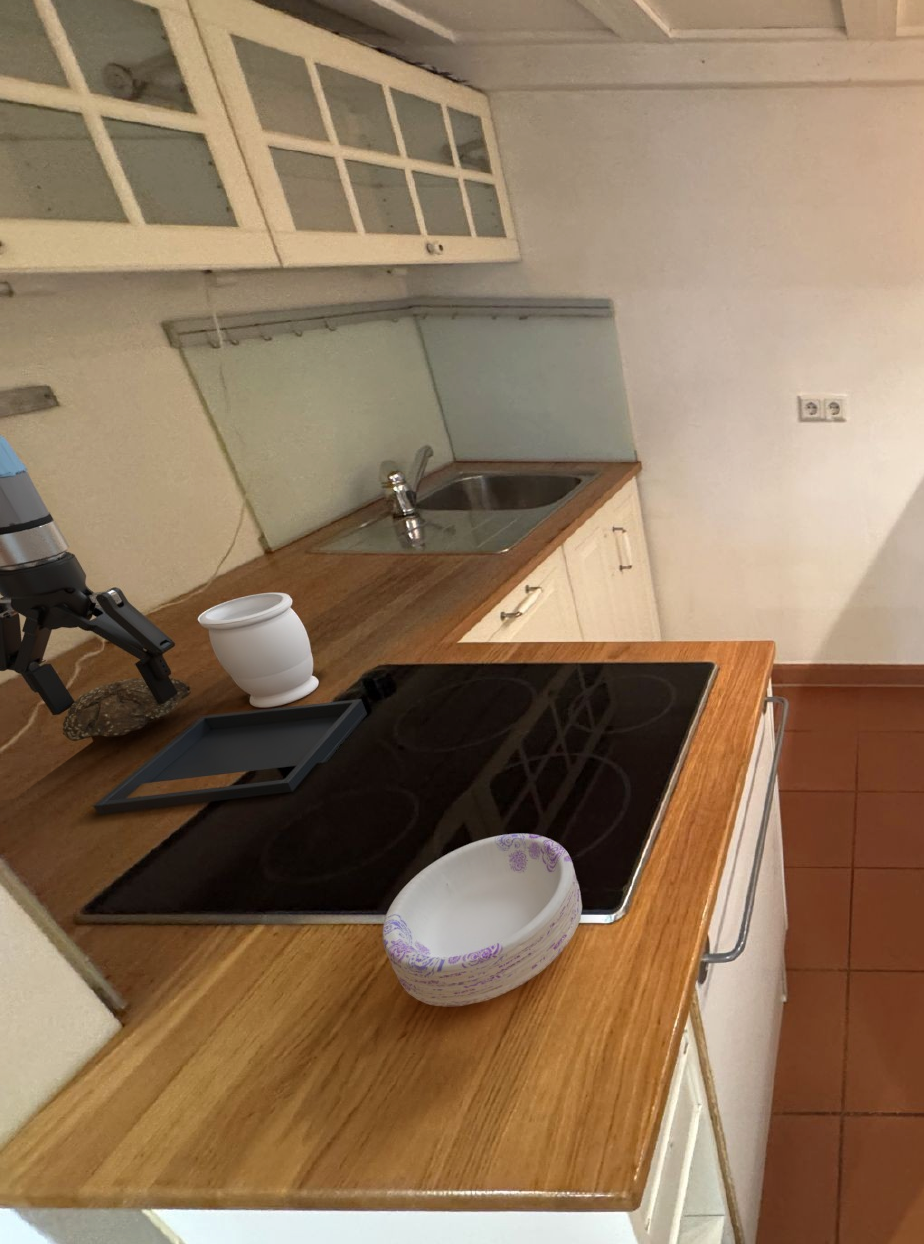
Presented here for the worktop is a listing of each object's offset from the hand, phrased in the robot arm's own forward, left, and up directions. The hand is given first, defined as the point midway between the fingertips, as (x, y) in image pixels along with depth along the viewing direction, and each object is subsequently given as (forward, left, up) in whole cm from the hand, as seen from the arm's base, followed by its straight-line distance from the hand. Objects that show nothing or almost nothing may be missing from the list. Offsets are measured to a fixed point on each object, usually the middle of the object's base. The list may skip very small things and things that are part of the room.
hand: (117, 704), depth 96 cm
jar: (+16, +7, -5) cm, 18 cm away
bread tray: (+21, -11, -5) cm, 24 cm away
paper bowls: (+63, -48, -5) cm, 79 cm away
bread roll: (0, 0, -2) cm, 2 cm away
